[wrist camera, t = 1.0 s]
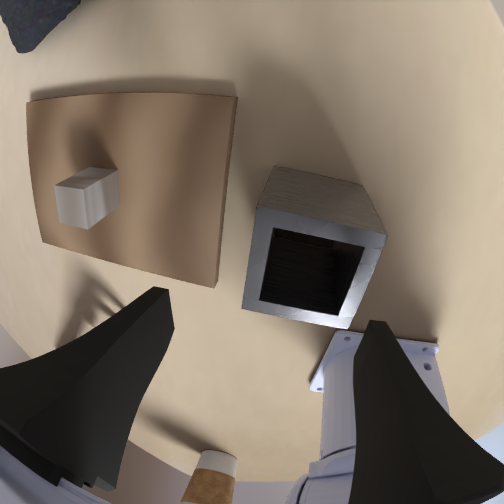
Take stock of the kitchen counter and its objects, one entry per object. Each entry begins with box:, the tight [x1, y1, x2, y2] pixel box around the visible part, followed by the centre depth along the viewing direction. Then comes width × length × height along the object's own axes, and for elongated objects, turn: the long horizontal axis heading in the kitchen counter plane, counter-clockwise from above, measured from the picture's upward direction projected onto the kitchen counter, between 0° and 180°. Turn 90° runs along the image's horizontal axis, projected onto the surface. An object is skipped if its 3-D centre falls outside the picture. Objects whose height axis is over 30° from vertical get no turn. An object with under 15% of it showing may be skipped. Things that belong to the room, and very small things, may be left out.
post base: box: [26, 92, 238, 288], centre depth 16 cm, size 16×12×5 cm
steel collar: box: [241, 166, 388, 329], centre depth 14 cm, size 5×5×6 cm
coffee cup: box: [181, 450, 237, 504], centre depth 34 cm, size 8×8×15 cm
